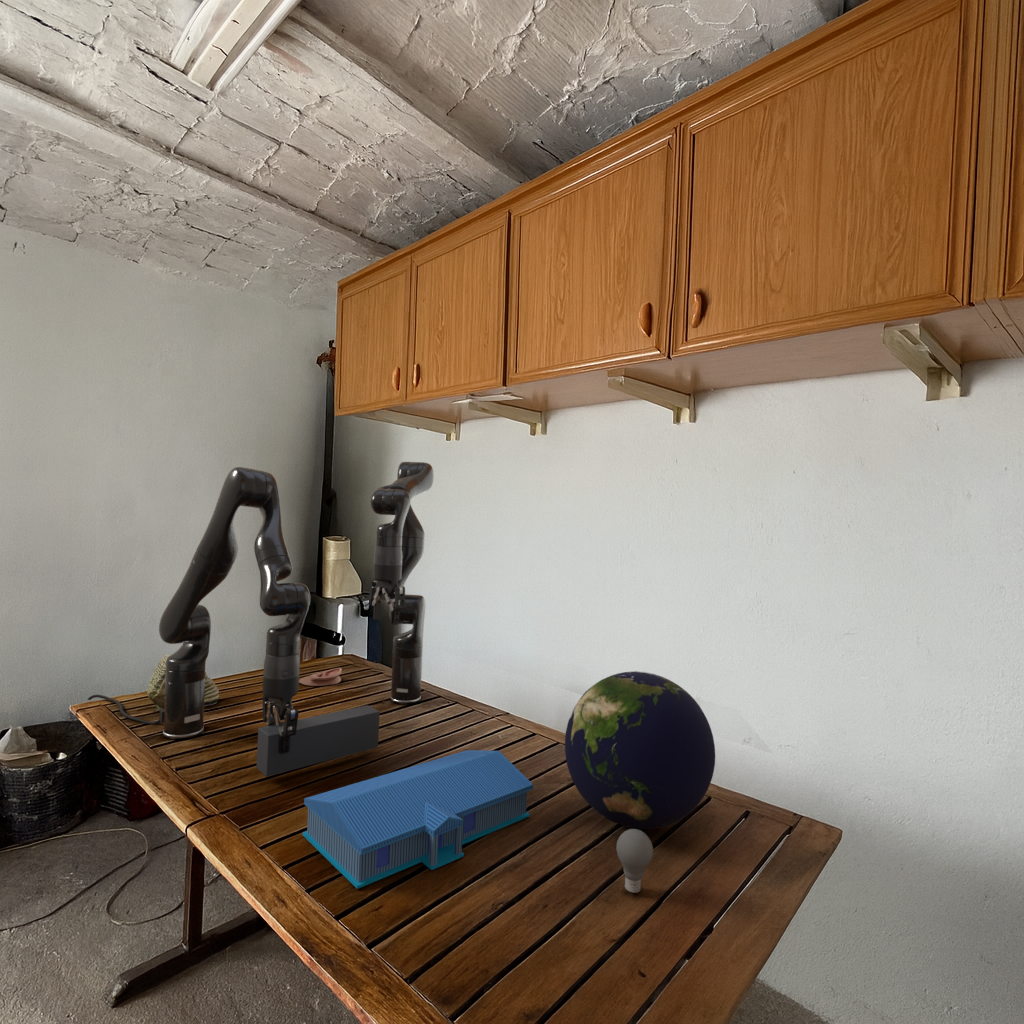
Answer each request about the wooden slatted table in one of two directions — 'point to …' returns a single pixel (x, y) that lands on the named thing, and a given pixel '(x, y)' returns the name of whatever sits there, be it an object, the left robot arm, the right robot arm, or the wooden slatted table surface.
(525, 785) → the model building
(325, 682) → the anatomical model
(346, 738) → the bar
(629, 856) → the light bulb
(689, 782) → the globe
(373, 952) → the wooden slatted table surface
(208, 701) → the fossil
